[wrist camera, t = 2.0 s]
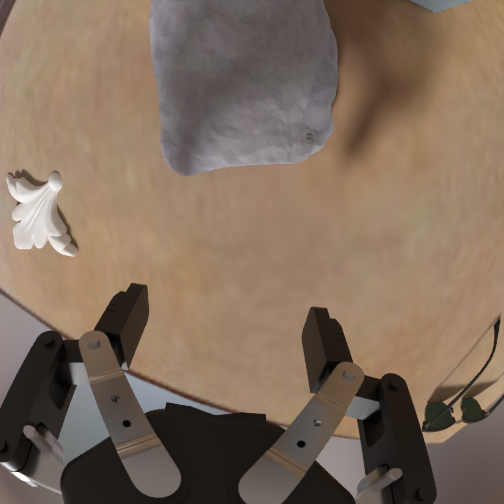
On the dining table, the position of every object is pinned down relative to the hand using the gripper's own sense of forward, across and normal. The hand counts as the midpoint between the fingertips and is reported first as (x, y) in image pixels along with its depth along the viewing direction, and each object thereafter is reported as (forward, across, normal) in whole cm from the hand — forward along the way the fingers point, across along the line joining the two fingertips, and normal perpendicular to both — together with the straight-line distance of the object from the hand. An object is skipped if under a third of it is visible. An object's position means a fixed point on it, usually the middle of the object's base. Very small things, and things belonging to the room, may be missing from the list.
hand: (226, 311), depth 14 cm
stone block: (+8, +1, -12) cm, 14 cm away
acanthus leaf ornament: (+8, +16, -1) cm, 18 cm away
